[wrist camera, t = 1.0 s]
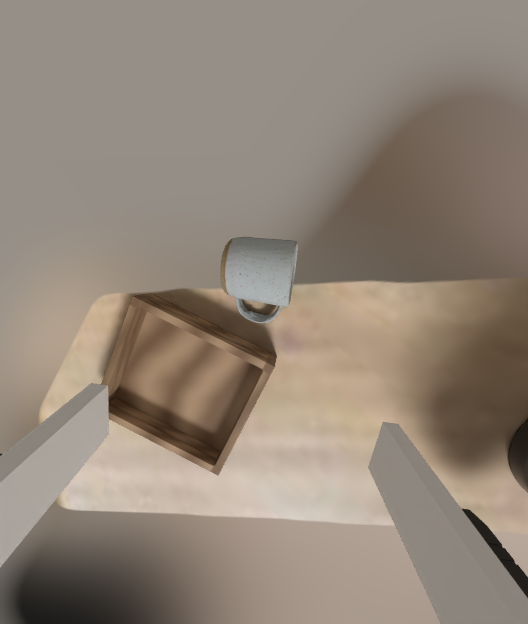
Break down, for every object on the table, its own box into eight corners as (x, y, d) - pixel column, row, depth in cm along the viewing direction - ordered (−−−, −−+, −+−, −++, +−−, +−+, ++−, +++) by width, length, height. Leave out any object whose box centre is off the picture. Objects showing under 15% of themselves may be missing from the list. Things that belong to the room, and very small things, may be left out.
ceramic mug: (236, 238, 33) (218, 231, 25) (298, 244, 32) (299, 237, 24) (230, 316, 35) (213, 331, 27) (289, 323, 34) (287, 340, 27)
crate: (276, 355, 35) (274, 366, 31) (225, 454, 38) (218, 475, 34) (150, 293, 35) (132, 296, 31) (112, 396, 39) (91, 410, 35)
